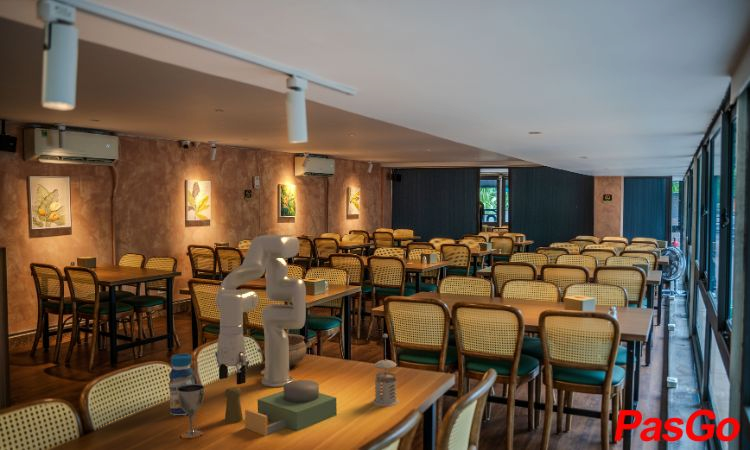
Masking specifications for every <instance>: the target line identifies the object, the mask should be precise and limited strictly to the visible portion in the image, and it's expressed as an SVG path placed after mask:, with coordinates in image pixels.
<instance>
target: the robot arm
mask: <svg viewBox="0 0 750 450" xmlns="http://www.w3.org/2000/svg"><path fill="white" fill-rule="evenodd" d="M300 247H301V246H300V241H299V238H298V237H297V236H296V235H293V234H291V235H290V234H265V235H259V236H255V237H254V238H253V239H252V240H251V242H250V243H249V247H248V249H247V252H246V254H245V257H244V259H243V262H242V264H241V265H239V266H238V267H236V268H235V269H234V270H233V271H231V272H229V273H228V274H227V276H226V277H224V279H222V282H221V283H220V286H219V289H218V291H217V294H216V297H215V305H216V306H217V308H218V310H219V334H218V338H217V349H216V350H217V351H216V352H215V353H214V355H215V359H216V363H217V367H218V379H219V380H224V379H227V378H228V377H229V368H228V367H231V368H232V367H235V368H236V369H235V370H236V371H237V372H236V385H242V384H246V381H247V380H246V372H247V369H248V368H249V365H250V359H249V358H248V357H247V356H246V345H245V339H244V338H245V336H244V315H243V314H244V313H249V312H253V311H254V310H255V309H257V307H258V304H259V296H258V294H257V292H255V291H253V290H251V289H237V288H238V287H241V286H243V285H244V284H247V283H250V282H253V281H256V280H258V279H260V278H261V277H263V276H264V274H265V273H266V275H265V280H266V282H265V283H266V284H265V293H266V298H267V299H268V300H269V301H271V302H287V303H289V302H290V303H292V304H270V305H269V304H268V305H266V306H265V307H263V310H262V311H261V322H262V325H263V327H262V328H263V332H264V333H263V334H264V346H265V357H264V368H263V370H261V371H260V375H264V377H263V378H262V379H261V384H262V385H263V386H265V387H270V388H271V387H272V388H276V387H284V385H285V384H286V383H289V382H292V381H294V378H293V376H291V375H290V367H289V340H288V336H287V334H288V333H287V332H286V330H300V329H302V328H303V327H304V326H305V323H306V317H307V316H306V315H307V314H306V313H307V310H306V309H307V308H306V307H307V302H306V301H307V289H306V288H307V287H306V284H305V282H304V280H303V279H301V278H298V277H289V275H288V263H287V262H286V259H290V258H294V257H295V256H297V254H299V250H300Z"/></svg>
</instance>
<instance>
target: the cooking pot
mask: <svg viewBox="0 0 750 450" xmlns="http://www.w3.org/2000/svg"><path fill="white" fill-rule="evenodd" d="M286 334H287V336H288V340H289V368H291V367H293V366H295V365H297V364H298V363H299V362H301V361H302V360H303V359H304V358H305V357H306V353H307V349H308V348H310V347H311V346H312V343H311V342H306V343H305V341H304V340H305V336H303V335H300V334H296V333H295V334H293V333H286ZM257 352H258V353H260V354H263V357H264V358H265V345H264V346H263V349H260V348H258V349H257Z"/></svg>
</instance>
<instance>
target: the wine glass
mask: <svg viewBox="0 0 750 450" xmlns="http://www.w3.org/2000/svg"><path fill="white" fill-rule="evenodd" d="M204 394H205V386H204V384H200V383H194V384H188V385H183V386H181V387H179V388H178V400H179V404H180V407H181V408H182V409H183V410H184V411H185V412H186V413H187V414H188V419H189V425H190V427H189V429H190V430H187V431H188V432H186V431H185V432H186V433H185V434H186V435H188V436H191V435H197V434H200V431H197V430H198V429H194V418H195V414H196V413H197V412H198V411H199V409H200V408H201V406H202V405H203V401H204V396H205V395H204Z"/></svg>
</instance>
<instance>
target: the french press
mask: <svg viewBox="0 0 750 450" xmlns="http://www.w3.org/2000/svg"><path fill="white" fill-rule="evenodd" d="M388 337H389V336H388V334H387V333H384V334H382V338H384V356H385V357H384V358H385V359H382V360H378V361H377V362H375V363H374V367H375V368H377V369H380V370H381V369H383V370H384V371H385V372H384V371H382V372H380V370H379V371H377V373H376V374H375V377H376V378H375V379H374V381H375V382H374V386H375V387H374V389H375V390H374V393H375V394H374V396H375V398H374V399H372V400H373V401H372V404H373V405H375V406H379V407H393V406H396V405H398V404H399V403H400V401H399V399H398V398H397V378H396V374H395V373H391V372H387V369H393V368H395V367H396V366H397V364H398V363H396V361H395V362H394V361H393V360H389V359H387V357H386V355H387V352H386V351H387V350H386V349H387V348H386V347H387V345H386V339H387V338H388Z"/></svg>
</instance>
